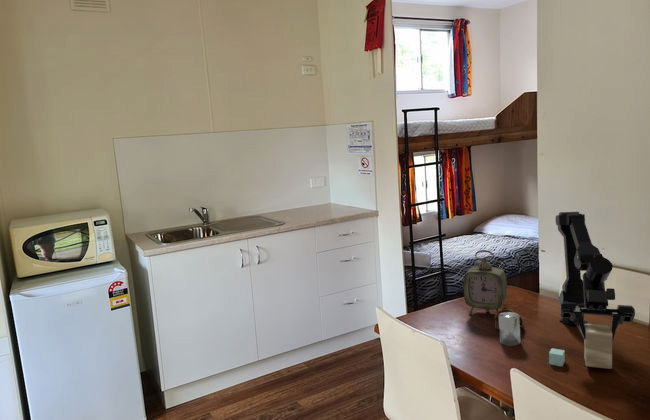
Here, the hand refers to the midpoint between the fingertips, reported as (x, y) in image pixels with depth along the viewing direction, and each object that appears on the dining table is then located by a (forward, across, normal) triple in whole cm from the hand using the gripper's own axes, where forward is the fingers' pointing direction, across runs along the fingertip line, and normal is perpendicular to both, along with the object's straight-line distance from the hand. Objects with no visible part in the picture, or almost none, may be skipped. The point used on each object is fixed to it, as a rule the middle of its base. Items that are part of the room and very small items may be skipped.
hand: (598, 339), depth 139 cm
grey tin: (-4, -24, +17) cm, 30 cm away
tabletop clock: (-20, -33, +34) cm, 52 cm away
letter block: (+5, -10, +8) cm, 14 cm away
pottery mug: (-11, -25, +25) cm, 37 cm away
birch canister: (+4, 0, +6) cm, 8 cm away
